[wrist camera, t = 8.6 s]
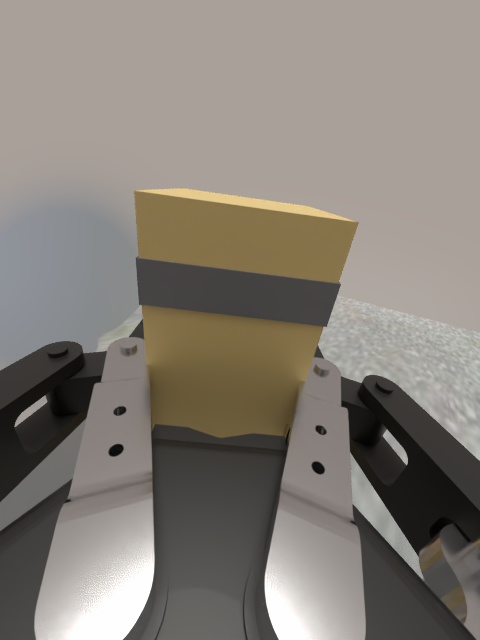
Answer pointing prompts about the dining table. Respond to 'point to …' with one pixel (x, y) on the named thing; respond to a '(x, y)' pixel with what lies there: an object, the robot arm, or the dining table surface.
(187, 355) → the block
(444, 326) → the dining table surface
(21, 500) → the case
